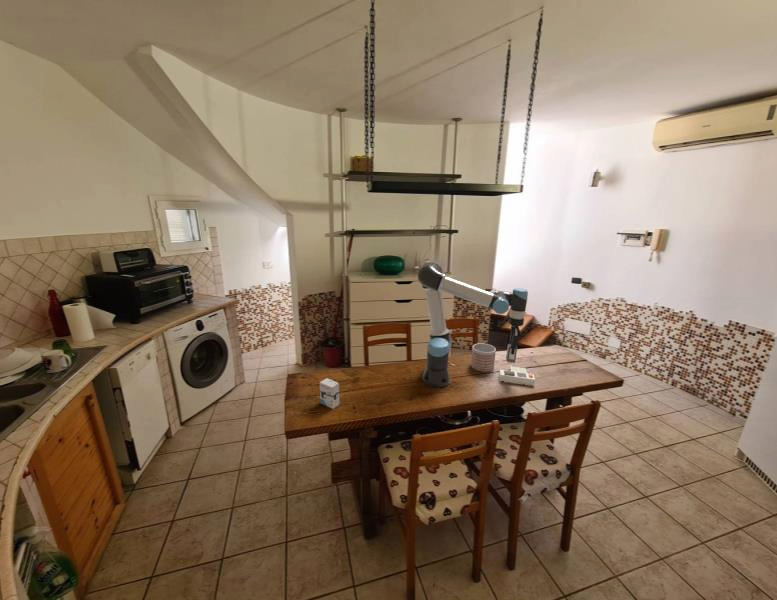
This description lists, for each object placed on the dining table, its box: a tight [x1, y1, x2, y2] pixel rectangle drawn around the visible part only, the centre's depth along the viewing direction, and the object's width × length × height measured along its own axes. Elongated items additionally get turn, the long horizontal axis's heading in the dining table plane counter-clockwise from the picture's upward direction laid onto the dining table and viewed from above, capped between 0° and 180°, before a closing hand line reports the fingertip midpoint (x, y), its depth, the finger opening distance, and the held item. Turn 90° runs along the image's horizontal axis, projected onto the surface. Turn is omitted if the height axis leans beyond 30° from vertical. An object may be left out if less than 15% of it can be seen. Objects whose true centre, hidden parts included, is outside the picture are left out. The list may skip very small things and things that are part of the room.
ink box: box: [319, 378, 340, 410], centre depth 157 cm, size 8×5×12 cm, turn 56°
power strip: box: [498, 369, 536, 387], centre depth 183 cm, size 18×6×5 cm, turn 75°
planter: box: [470, 342, 497, 373], centre depth 198 cm, size 14×14×13 cm
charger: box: [505, 343, 518, 364], centre depth 180 cm, size 4×4×9 cm
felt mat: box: [509, 365, 528, 373], centre depth 194 cm, size 9×9×1 cm
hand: (511, 356), depth 181 cm, fingers closed on charger, 4 cm apart
